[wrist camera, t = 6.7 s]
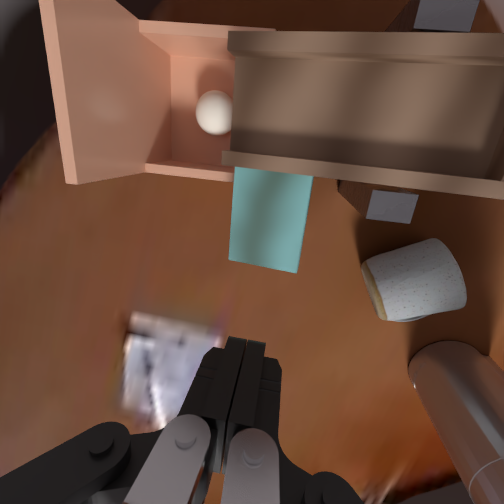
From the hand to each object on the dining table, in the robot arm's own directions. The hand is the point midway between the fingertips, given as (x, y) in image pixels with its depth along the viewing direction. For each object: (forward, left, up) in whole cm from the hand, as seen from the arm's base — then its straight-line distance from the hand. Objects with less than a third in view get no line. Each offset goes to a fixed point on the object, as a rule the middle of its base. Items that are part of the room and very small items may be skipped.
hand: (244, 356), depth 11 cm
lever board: (-7, -6, -20) cm, 22 cm away
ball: (+7, -10, -21) cm, 24 cm away
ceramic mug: (-16, +6, -24) cm, 29 cm away
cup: (+7, -10, -24) cm, 27 cm away
